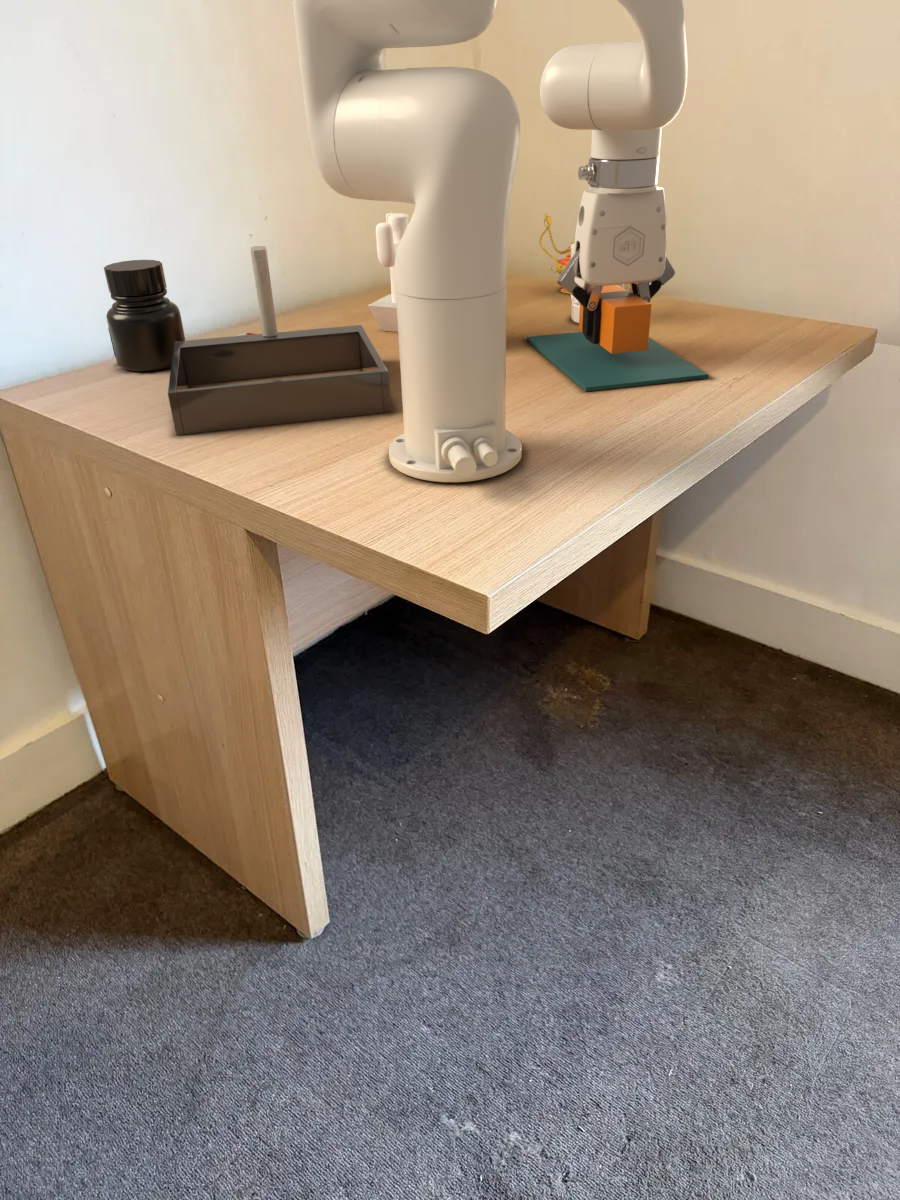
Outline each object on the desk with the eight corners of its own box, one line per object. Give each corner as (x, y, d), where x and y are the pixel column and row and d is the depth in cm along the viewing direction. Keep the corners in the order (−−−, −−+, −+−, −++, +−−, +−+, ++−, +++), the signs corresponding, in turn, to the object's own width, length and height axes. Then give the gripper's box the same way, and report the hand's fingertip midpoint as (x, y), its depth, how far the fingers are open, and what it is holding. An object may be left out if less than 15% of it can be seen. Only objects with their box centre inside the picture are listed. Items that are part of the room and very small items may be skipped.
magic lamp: (625, 303, 131) (631, 225, 126) (526, 289, 141) (528, 216, 135) (646, 294, 136) (653, 218, 130) (549, 281, 146) (551, 210, 140)
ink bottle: (170, 348, 117) (151, 254, 111) (204, 360, 112) (187, 262, 106) (102, 364, 112) (78, 267, 105) (135, 378, 106) (112, 276, 100)
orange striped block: (647, 350, 103) (652, 303, 100) (611, 354, 102) (614, 307, 99) (612, 327, 112) (615, 283, 109) (578, 330, 111) (580, 286, 108)
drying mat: (708, 378, 100) (708, 374, 100) (585, 391, 97) (585, 387, 97) (631, 330, 118) (631, 326, 118) (526, 340, 116) (526, 336, 115)
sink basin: (391, 412, 94) (381, 270, 86) (176, 435, 89) (145, 289, 82) (364, 360, 110) (354, 237, 102) (181, 378, 106) (156, 251, 98)
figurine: (440, 321, 125) (436, 208, 117) (411, 338, 118) (405, 219, 110) (395, 317, 128) (388, 207, 120) (365, 334, 121) (355, 217, 113)
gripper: (563, 183, 92) (557, 354, 102) (709, 174, 95) (689, 340, 105) (540, 176, 99) (537, 337, 108) (678, 167, 102) (662, 325, 111)
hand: (612, 337), depth 107 cm, fingers closed on orange striped block, 4 cm apart
